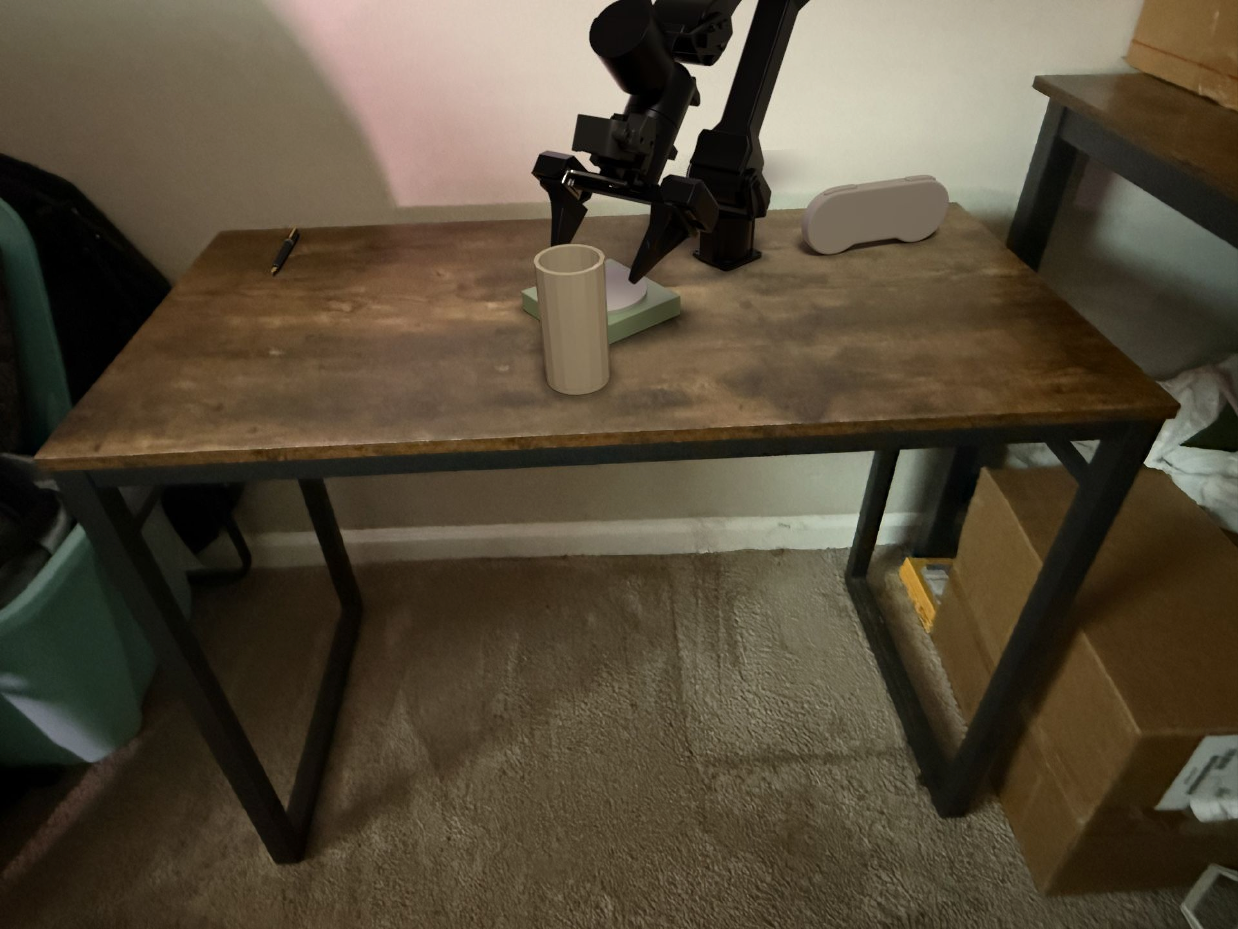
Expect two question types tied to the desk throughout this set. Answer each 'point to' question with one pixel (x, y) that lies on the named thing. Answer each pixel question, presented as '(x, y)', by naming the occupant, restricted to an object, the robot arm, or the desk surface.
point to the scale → (625, 302)
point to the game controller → (874, 213)
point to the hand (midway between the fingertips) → (591, 271)
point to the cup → (573, 317)
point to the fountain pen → (285, 249)
